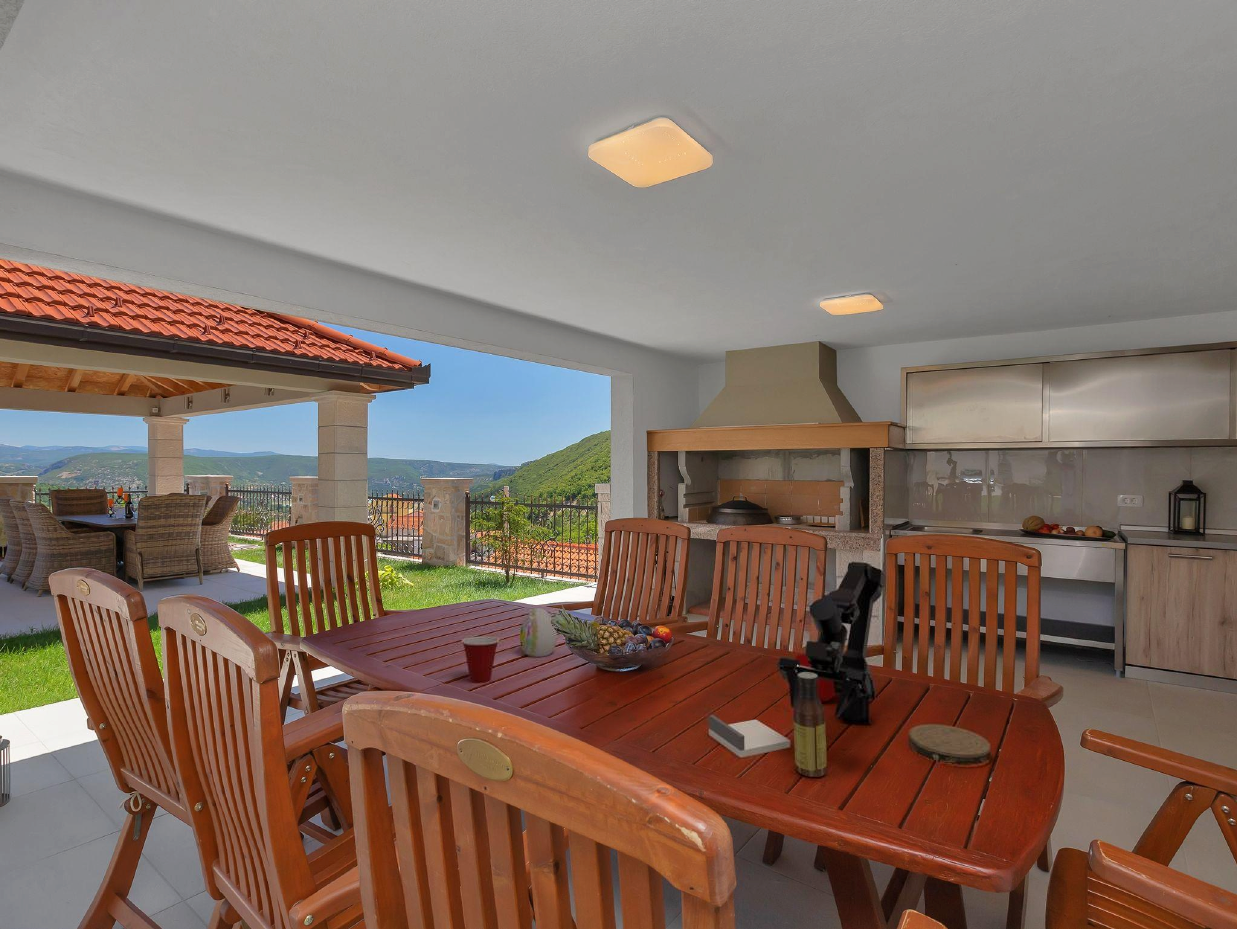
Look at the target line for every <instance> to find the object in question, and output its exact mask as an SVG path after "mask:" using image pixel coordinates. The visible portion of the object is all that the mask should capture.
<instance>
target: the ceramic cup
mask: <svg viewBox="0 0 1237 929" xmlns="http://www.w3.org/2000/svg"><path fill="white" fill-rule="evenodd" d="M793 658H795V659H798V661H799V663H800V665H801V666H806V667H811V664H809V663H808V657H805V653H801V654H797V655H795V656H793ZM817 692H818V697H819V699H820V701H821V703H824V702H825V703H826V702H829V701H831V699H832V698H833V697H834V696H835V695H836V693H835V691H834V683H833V681H830V680H825V679H820V678H818V683H817Z"/></svg>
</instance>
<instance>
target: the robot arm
mask: <svg viewBox="0 0 1237 929" xmlns="http://www.w3.org/2000/svg"><path fill="white" fill-rule="evenodd" d="M886 581H887V578H886V574H885V572H884V571H883V570H882V569H880V568H876V567H875V566H872V565H871V564H870V563H868V562H860V561H859V562H858V561H851V562H848V564H847V571H846V572H845V575H844V576H843V579H842V580H841V582H840V584H839V586H838V588H837V589H836V590H833V591H830V592H828V594H822V597H821V598H819V599H816V600H815V601H813V602H812V604H811V605H809V614H810V617H811V618H812V621H813V624H814V627H815V628H816V631H818V632H819V634H818V638H817V641H810V640H807V641H806V644H805V645H806V646H805V650H804V651H805V653H804V654H805V657H808V663H809V664H811V667H806V666H801V665H800V663H799V661H798V659H795V658H794V657H789V656H782V657H779V659H778V660H777V661H778V662H777V665H776V667H777V669H778V671H779V673H780V675H781V677H782V678H783V679H784V680H786V682H787V683H788V686H789V694H790V695H789V698H790V706H791V708H792V709H794V706H795V704H796V701H797V699H798V696H799V695H798V693H799V683H798V680H797V677H798V674H799V673H801V672H811V673H815V674H817V676H818V678H820V679H825V680H830V681H833V683H834V691H835V693H836V694H838V695H839V697H838V698H837V704H836V708H835V713H834V716H835V718H840V719H841V721H842V723H843V722H844V724H853V723H854V724H855V725H858V724H859V725H868V726H869V725H871V724H872V722H871V719H870V701H871V700H872V699H876V684H875V682H874V679H873V677H872V674H871V672H872V670H871V668H870V666H869V663H868V662H867V659H866V656H867V649H868V642H869V635H870V628H871V622H872V615H873V609H874V604H875V603H876V602H877V600H879V599H880V597H882V595H883V594H882V593H883V589H884V588H885V587H886V583H887V582H886ZM846 624H847V625H850V628H849V633H848V629H847V626H845V625H846ZM846 641H847V644H846ZM846 645H847V646H846ZM845 646H846V651H845V652H844V649H845ZM836 694H835V695H836ZM854 724H853V725H854Z"/></svg>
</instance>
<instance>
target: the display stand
mask: <svg viewBox="0 0 1237 929" xmlns="http://www.w3.org/2000/svg"><path fill="white" fill-rule="evenodd" d="M708 735H709V737H711V738H712V739H714V740H715V741H717V743H720V744H721V745H722V746H724V747H725V748H726V749H728V750H729V751H730V752H732V753H733V754H735V756H737V757H739V758H745V757H751V756H757V755H761V754H765V753H770V752H774V751H779V750H784V749H785V750H786V749H788V748H791V740H790V739H788V738H787V737H785V736H784V735H782V734H780V733H779V732H777V731H776V730H773V729H772V728H770V727H768V726H767V725H765V724H764V723H762V722H761V721H759V720H757V719H751V720H746V721H741V722H740V721H739V722H736V723H729V724H728V723H725V722H724V721H722V719H720V718H718V717H717V716H715V715H713V714H709V715H708Z"/></svg>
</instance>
